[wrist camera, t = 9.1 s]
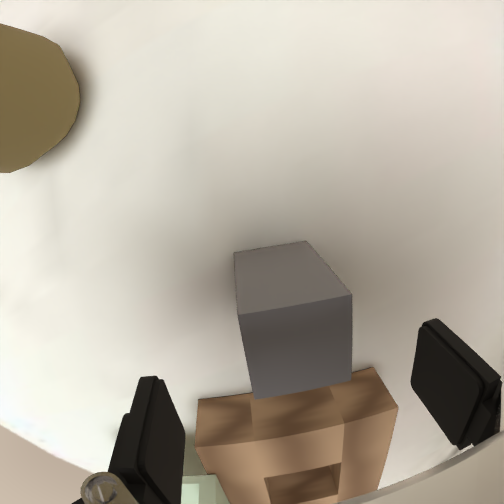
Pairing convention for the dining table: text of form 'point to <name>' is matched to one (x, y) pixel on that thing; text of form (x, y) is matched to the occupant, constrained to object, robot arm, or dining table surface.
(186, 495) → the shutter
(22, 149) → the squeeze bottle
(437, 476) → the robot arm
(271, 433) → the socket
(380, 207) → the dining table surface
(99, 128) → the dining table surface
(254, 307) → the plug
